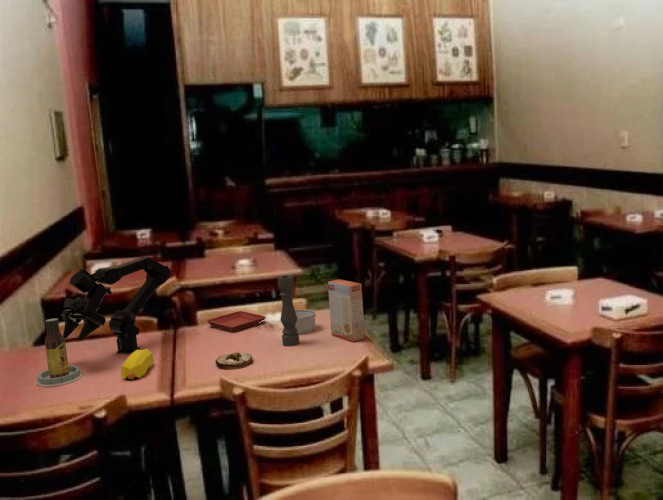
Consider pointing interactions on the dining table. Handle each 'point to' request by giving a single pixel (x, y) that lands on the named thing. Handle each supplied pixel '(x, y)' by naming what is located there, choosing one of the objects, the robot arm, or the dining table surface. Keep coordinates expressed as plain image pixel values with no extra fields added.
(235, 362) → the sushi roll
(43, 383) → the ring collar
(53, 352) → the sauce bottle
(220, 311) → the dining table surface
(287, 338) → the candle holder
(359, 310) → the cracker box
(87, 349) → the dining table surface
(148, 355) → the yellow faceted rock
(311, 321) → the ramekin
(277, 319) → the dining table surface
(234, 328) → the plant saucer
